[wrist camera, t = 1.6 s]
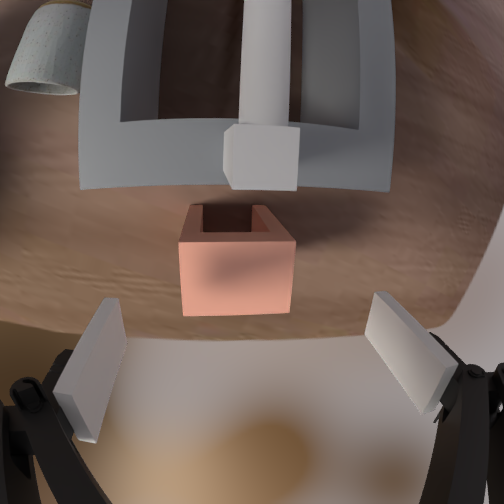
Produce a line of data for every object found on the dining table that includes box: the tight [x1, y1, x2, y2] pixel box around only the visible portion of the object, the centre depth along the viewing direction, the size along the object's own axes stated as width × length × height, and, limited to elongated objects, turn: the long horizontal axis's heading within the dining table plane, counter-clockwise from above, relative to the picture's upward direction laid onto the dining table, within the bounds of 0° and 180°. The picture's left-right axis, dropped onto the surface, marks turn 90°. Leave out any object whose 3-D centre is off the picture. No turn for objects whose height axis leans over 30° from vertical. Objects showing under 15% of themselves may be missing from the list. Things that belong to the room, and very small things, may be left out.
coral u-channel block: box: [179, 205, 296, 316], centre depth 24 cm, size 7×5×11 cm
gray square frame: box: [78, 0, 396, 192], centre depth 15 cm, size 18×19×19 cm
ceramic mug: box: [5, 0, 92, 95], centre depth 17 cm, size 11×8×8 cm
